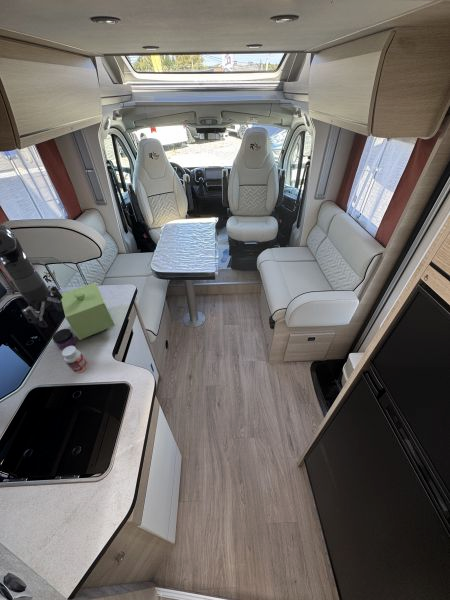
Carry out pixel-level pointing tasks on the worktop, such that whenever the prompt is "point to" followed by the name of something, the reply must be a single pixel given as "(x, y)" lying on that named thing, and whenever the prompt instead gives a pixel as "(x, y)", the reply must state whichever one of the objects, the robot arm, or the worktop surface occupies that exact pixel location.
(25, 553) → the worktop surface
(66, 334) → the jar lid
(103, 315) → the container
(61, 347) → the jar
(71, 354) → the pill bottle
